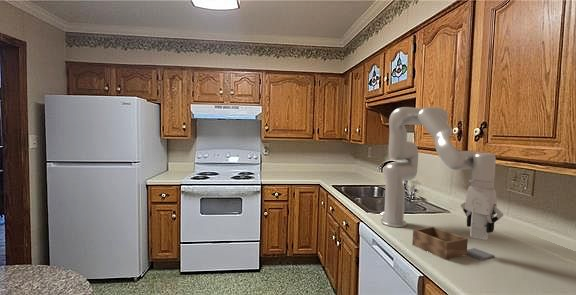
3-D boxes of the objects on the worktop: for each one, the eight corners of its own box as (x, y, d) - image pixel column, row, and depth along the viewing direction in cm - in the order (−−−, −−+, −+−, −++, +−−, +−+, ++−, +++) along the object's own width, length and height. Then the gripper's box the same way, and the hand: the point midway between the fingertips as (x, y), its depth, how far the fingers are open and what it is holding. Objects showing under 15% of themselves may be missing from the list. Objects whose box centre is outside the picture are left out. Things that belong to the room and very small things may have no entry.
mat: (461, 252, 125) (461, 250, 125) (474, 249, 129) (474, 247, 129) (481, 260, 118) (481, 258, 118) (494, 256, 122) (494, 255, 122)
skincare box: (470, 237, 123) (471, 206, 122) (469, 234, 126) (471, 204, 126) (488, 240, 119) (490, 209, 119) (487, 237, 123) (489, 206, 123)
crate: (412, 245, 132) (413, 230, 132) (432, 241, 137) (432, 226, 137) (446, 259, 118) (447, 243, 117) (466, 254, 123) (467, 238, 123)
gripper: (455, 181, 128) (453, 224, 129) (500, 189, 112) (496, 237, 113) (467, 180, 131) (464, 222, 132) (512, 188, 116) (508, 235, 117)
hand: (479, 228), depth 123 cm, fingers closed on skincare box, 7 cm apart
